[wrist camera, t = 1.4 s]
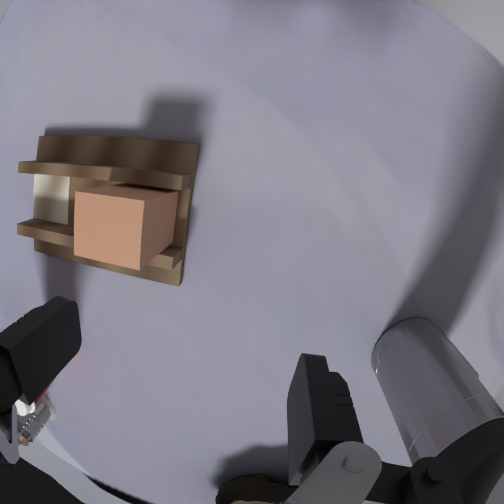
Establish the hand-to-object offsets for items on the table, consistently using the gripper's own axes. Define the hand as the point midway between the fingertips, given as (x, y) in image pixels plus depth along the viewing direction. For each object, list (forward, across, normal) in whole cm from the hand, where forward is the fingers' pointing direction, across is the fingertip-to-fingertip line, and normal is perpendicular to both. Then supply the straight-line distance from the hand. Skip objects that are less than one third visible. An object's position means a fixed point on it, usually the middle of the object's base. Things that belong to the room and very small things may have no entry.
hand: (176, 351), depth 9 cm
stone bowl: (+21, -13, +49) cm, 54 cm away
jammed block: (+19, +9, 0) cm, 21 cm away
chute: (+20, +15, 0) cm, 25 cm away
